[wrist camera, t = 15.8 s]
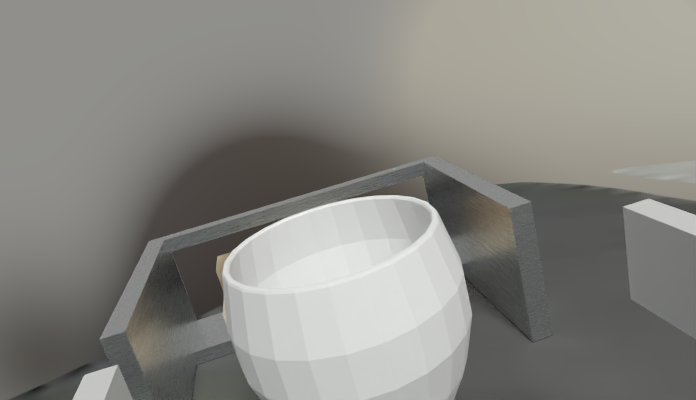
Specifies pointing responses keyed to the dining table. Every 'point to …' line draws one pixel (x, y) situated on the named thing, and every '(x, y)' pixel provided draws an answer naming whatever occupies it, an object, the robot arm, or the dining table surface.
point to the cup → (350, 304)
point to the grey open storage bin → (440, 182)
